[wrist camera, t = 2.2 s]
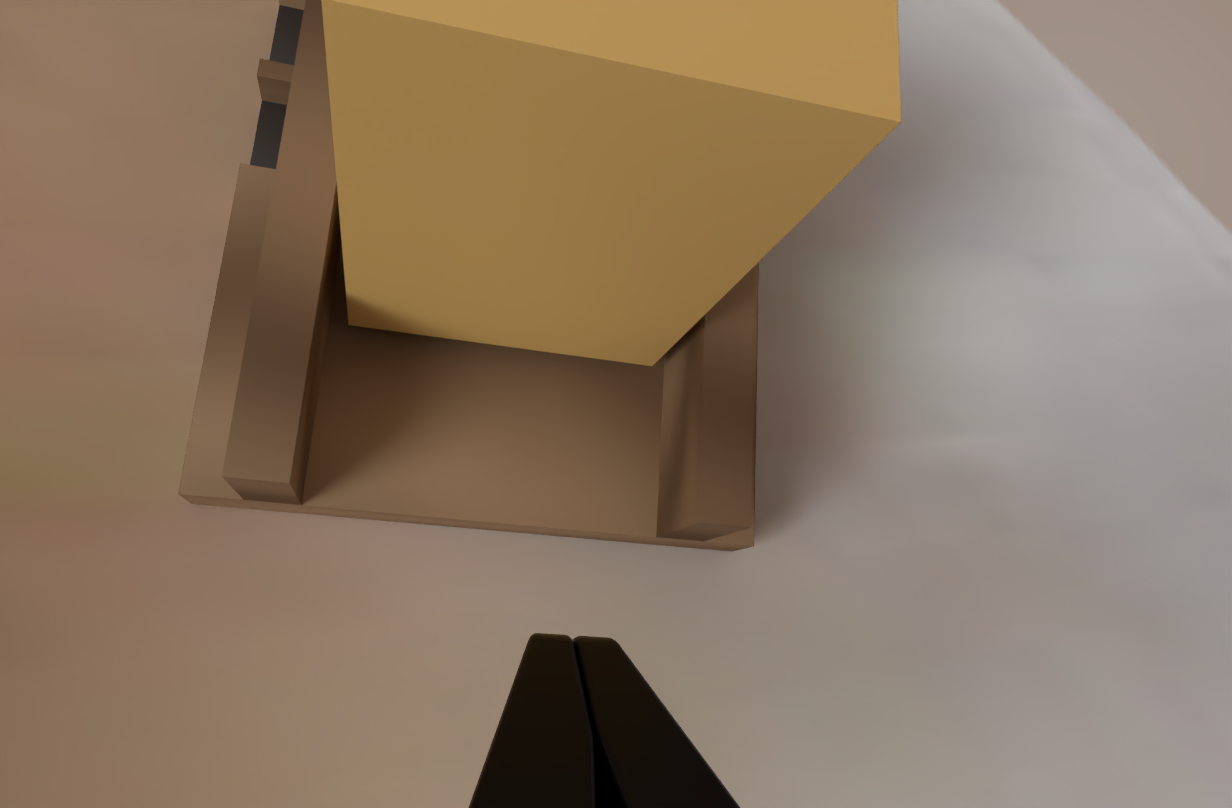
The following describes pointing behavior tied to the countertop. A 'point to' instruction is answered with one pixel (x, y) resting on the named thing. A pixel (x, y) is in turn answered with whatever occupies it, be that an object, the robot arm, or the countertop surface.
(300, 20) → the board
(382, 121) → the block
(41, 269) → the countertop surface
